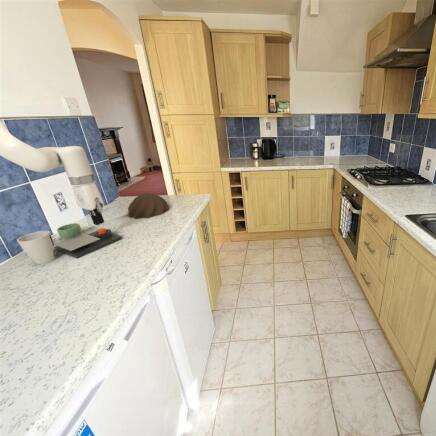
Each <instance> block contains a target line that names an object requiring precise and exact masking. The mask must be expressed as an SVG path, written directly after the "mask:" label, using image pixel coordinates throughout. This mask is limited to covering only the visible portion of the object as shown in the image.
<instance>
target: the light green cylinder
mask: <svg viewBox="0 0 436 436" xmlns="http://www.w3.org/2000/svg"><path fill="white" fill-rule="evenodd" d="M81 227H82V226H81V224H80V223H79V222H76V223H75V222H73V223H68V224H65V225H61V226H59V227H58V228H57V229H56V231H57V233H58V235H59V238H60V240H61V241H63V240H66V239H69V238H71V237H74V236H77V235H80V234H82V233H84V232H83V230H82V228H81Z"/></svg>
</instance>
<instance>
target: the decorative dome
mask: <svg viewBox="0 0 436 436" xmlns="http://www.w3.org/2000/svg"><path fill="white" fill-rule="evenodd" d="M169 210H170V207H169V204H168V202H167V200H166V199H164V198H163V197H162V196H160V195H158V194H155V193H151V192H150V193H149V192H147V193H142V194H140V195H137V196H136V197H134V198H133V199H132V201H131V202H130V204H129V205H128V206H127V211H128V218H133V219H134V220H138V219H150V218H152V217H156V216H161V215H163V214H164V213H166V212H168V211H169Z"/></svg>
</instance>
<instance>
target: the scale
mask: <svg viewBox="0 0 436 436" xmlns="http://www.w3.org/2000/svg"><path fill="white" fill-rule="evenodd" d="M106 231H107V232H106V233H104V234H98V232H97V230H96V231H93V232H91V233H87V234H88V235H91V236H94V237H97V238H100V239H99V240H97V241H94V242H92V243H89V244H87V245H84V246H82V247H79V248H77V249H74V250H72V251H68V250H66V249H63V248H61V247H58V246H56V245H54V246H55V250H56V251H59V252H60V253H63V254H66V255H68V256H71V257H73V258H75V259H80V258H82V257H85V256H88V255H90V254H92V253H94V252H97V251H98V250H101V249H103V248H105V247H108V246H111V245H112V244H115V243H118V242H119V241H121V240H123V238H122V236H121V235H118V234H115V233H113V232H112V229H109V228H106Z"/></svg>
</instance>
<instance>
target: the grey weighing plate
mask: <svg viewBox="0 0 436 436" xmlns="http://www.w3.org/2000/svg"><path fill="white" fill-rule="evenodd" d="M88 234H89V233H86V232H83V233H82V234H80V235H77V236H74V237H71V238H69V239H66V240H63V241H62V240H61V241H58V242H54V246H58V247H61V248H63V249H66V250H68V251H72V250H74V249H77V248H79V247H82V246H84V245H87V244H89V243H92V242H94V241H97V240H99V239H100V238H97V237H94V236H91V235H88Z"/></svg>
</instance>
